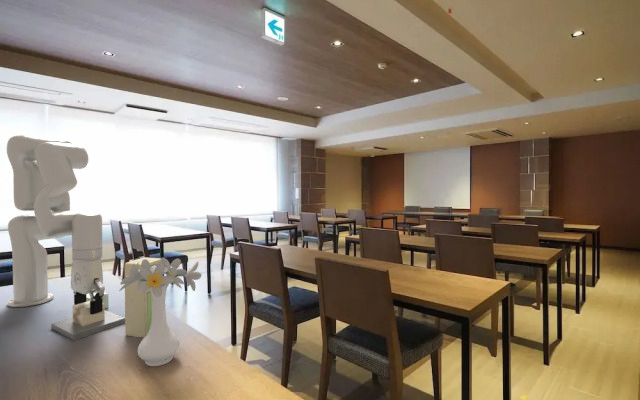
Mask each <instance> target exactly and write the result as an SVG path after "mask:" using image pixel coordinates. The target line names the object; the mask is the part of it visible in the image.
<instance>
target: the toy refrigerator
mask: <svg viewBox="0 0 640 400" xmlns="http://www.w3.org/2000/svg"><path fill="white" fill-rule="evenodd" d="M161 258H162V257H147V256H146V257H141V258H137V259H134V260H131V261H128V262H125V263H124V278H126V277H127V276H130V270H131V267H132V265H133V264H135V267H136V265H137V263H138V262H139V263H138V270H141V269H142V267H141V263H142V261H143V260H144V259H146V260H148V261H149V263H150V266H151V267H152V266H154V265H155V264H157V263H161ZM161 264H162V263H161ZM162 276H164V274H163V275H162ZM162 276H161V277H162ZM138 282H139V280H137V281H135V282H134V283H132V284H130V285H128V286H127V287H125V288H124V316H125V317H124V318H125V323H124V327H125V329H124V330H125V331H124V332H125V335H126V336H127V337H128V336H129V337H138V338H144V337H145V336H146V335H147V334H148V332H149V329H150V326H151V320H152V297H151V292H150V289H148V290H146V291H143V292H139V291H138V290H137V288H138ZM126 284H127V283H126Z"/></svg>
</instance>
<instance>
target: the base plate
mask: <svg viewBox="0 0 640 400" xmlns="http://www.w3.org/2000/svg"><path fill="white" fill-rule="evenodd" d="M104 316H105V320H101V321H98V322H95V323H92V324H89V325H86V326H81V325H78V324H76V323H74V322H73V316H71V317H69V318H65V319H62V320H59V321H56V322H51V324H50V325H51V326H50V327H51V330H53V331H56V333H59V334H61V335H62V336H65V337H67V338H69V339H71V340H72V341H75V340H78V339H81V338H84V337H87V336H90V335H94V334H96V333H99V332H102V331H105V330H108V329H111V328H114V327H116V326H120V325H123V324H125V317H124V316H121V315H119V314H116V313H114V312H111V311H108V310H105V309H104Z"/></svg>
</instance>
